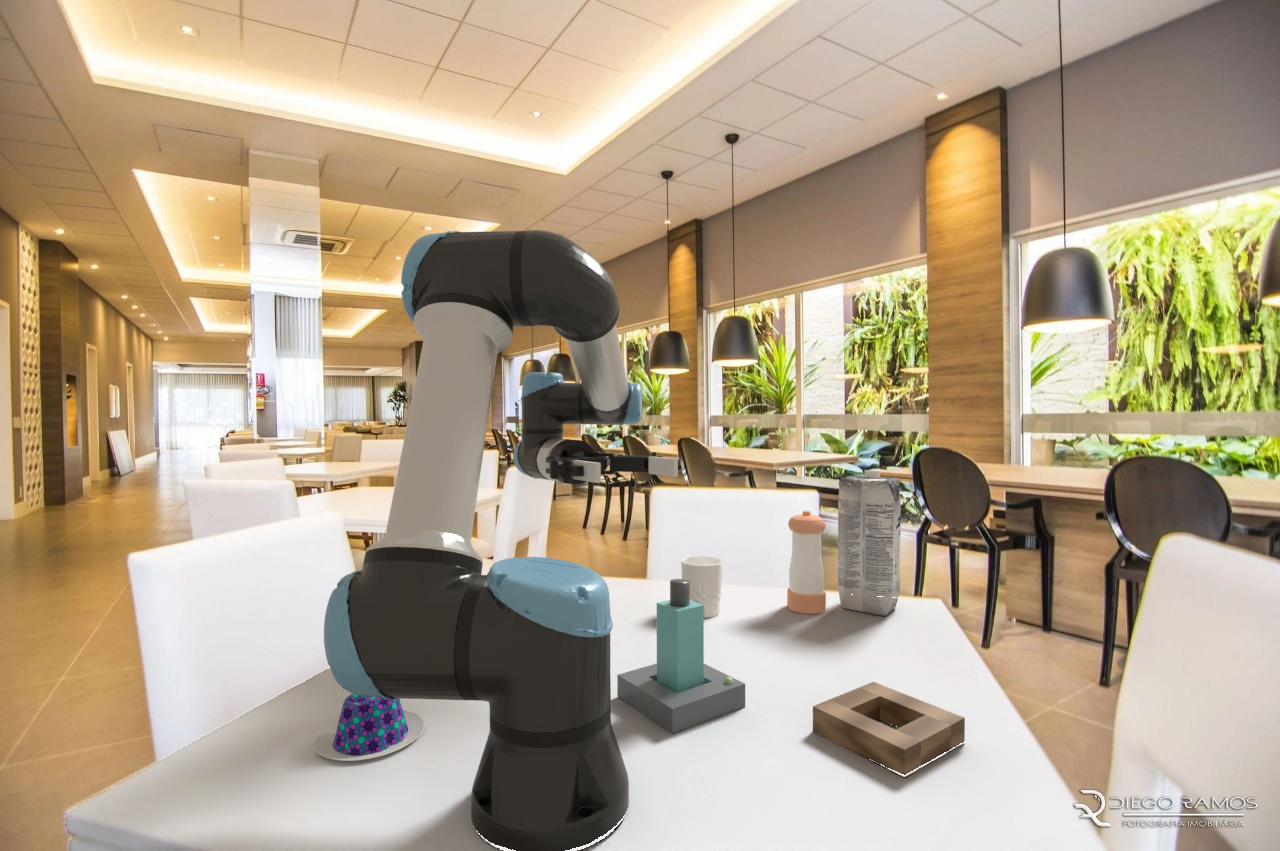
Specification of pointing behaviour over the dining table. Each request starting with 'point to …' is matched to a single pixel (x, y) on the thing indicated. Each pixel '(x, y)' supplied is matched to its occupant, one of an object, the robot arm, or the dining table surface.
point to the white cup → (704, 582)
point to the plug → (680, 639)
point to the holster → (900, 749)
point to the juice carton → (869, 543)
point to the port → (680, 697)
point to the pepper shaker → (806, 565)
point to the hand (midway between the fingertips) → (639, 470)
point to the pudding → (368, 729)
